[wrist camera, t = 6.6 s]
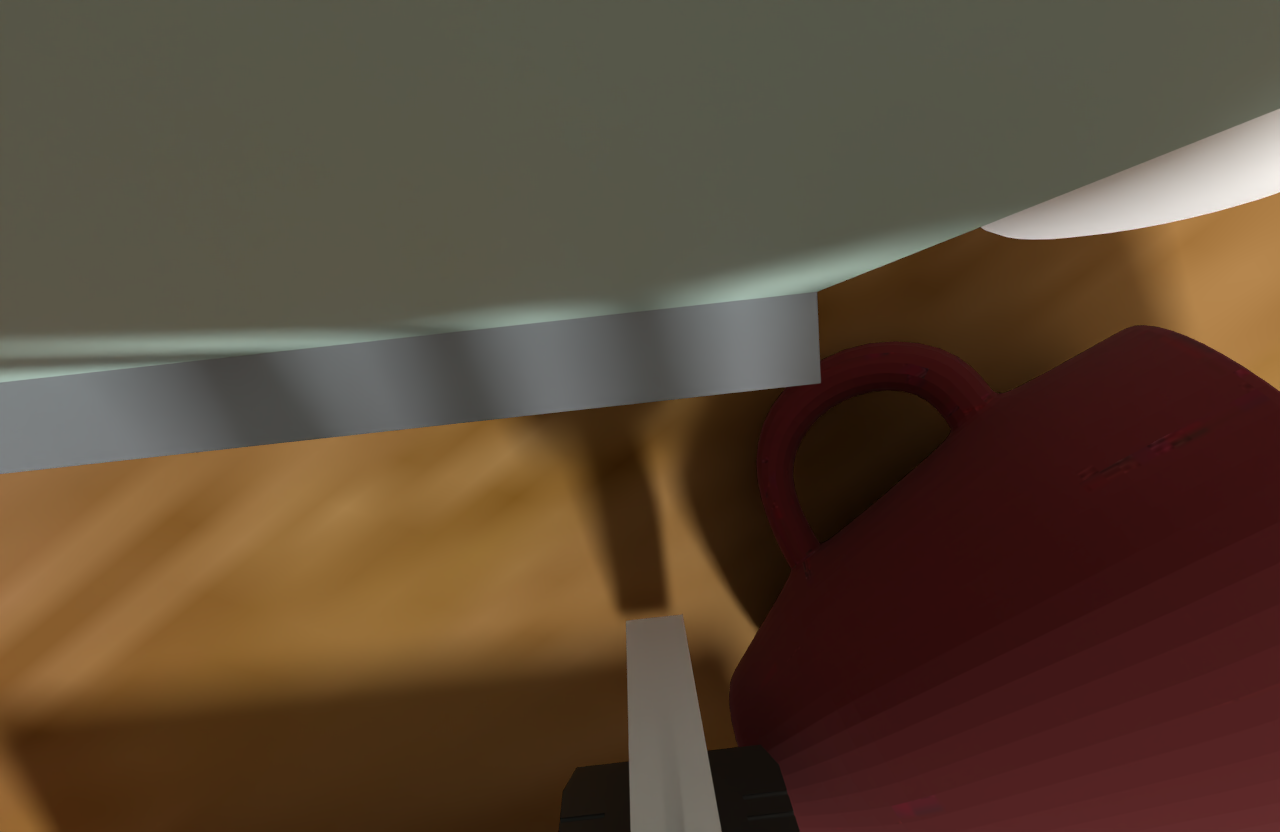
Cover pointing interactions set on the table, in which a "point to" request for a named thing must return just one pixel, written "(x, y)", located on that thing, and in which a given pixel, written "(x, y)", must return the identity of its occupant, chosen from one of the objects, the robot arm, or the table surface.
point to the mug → (1033, 603)
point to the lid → (547, 153)
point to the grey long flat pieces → (409, 382)
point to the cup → (1163, 187)
